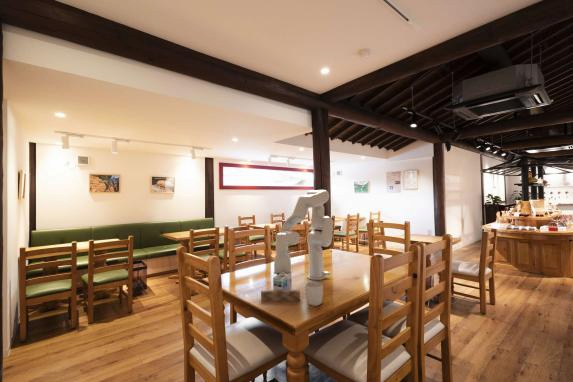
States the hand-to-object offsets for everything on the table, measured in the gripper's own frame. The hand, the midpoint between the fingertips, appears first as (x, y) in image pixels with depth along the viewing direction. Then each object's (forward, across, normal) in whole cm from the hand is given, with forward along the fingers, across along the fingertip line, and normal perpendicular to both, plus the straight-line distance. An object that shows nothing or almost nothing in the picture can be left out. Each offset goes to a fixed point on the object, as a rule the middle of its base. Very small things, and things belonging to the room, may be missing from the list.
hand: (282, 283), depth 163 cm
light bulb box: (+4, 0, +8) cm, 8 cm away
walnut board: (+4, 0, +17) cm, 17 cm away
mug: (+4, -19, +18) cm, 27 cm away
